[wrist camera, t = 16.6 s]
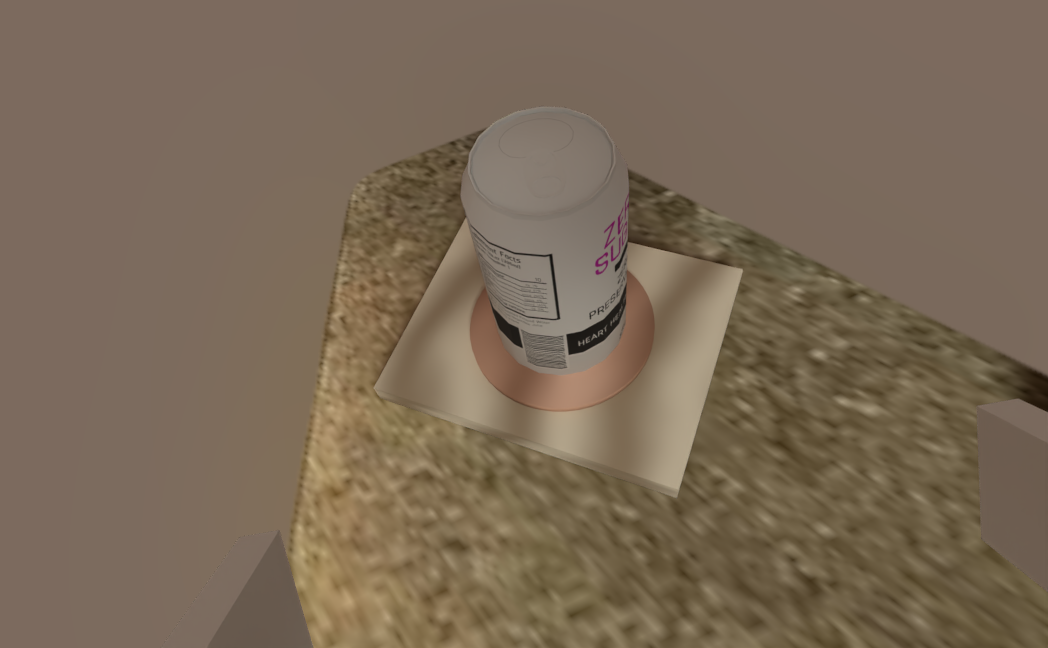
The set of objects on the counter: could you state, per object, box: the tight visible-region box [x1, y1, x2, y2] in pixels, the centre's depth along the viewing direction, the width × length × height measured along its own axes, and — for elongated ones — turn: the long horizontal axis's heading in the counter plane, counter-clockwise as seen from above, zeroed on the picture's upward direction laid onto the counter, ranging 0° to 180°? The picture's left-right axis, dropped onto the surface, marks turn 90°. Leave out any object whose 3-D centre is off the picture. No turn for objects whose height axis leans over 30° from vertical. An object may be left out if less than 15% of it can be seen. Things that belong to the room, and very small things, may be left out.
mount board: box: [374, 218, 743, 498], centre depth 47 cm, size 20×16×2 cm
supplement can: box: [461, 106, 629, 376], centre depth 39 cm, size 8×8×15 cm
